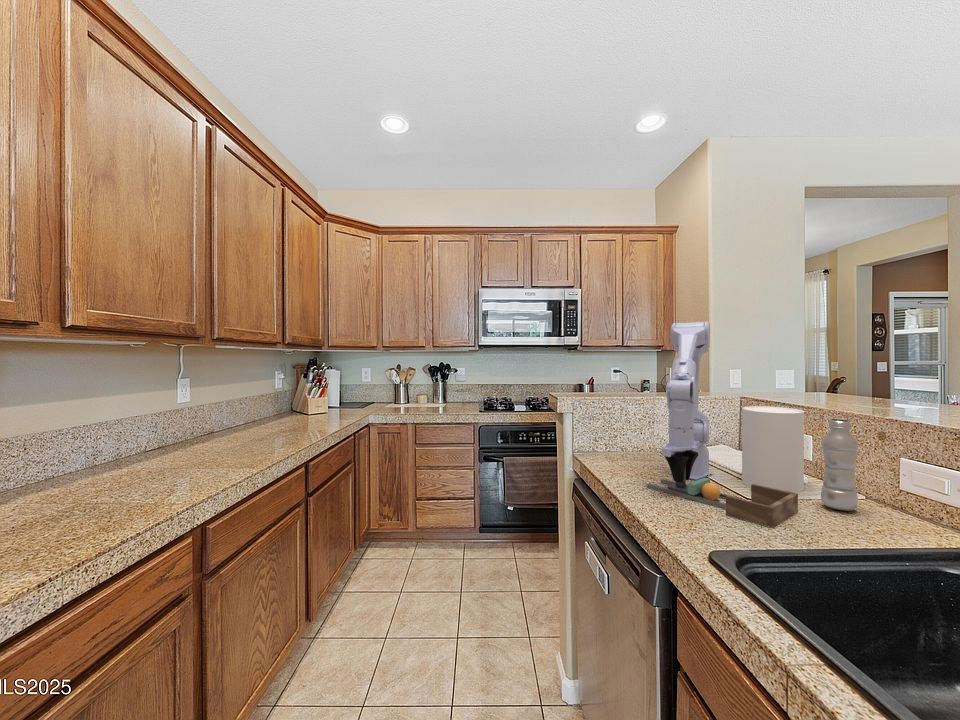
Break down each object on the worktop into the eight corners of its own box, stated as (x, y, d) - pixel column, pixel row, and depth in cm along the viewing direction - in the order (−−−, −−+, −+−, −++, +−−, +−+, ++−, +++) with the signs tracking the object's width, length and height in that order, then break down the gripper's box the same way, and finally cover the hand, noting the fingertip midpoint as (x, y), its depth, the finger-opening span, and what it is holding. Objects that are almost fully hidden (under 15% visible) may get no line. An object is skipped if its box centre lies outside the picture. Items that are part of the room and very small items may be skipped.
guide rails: (662, 482, 117) (662, 478, 117) (742, 502, 101) (742, 498, 101) (647, 487, 113) (646, 483, 113) (727, 509, 97) (727, 505, 97)
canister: (760, 474, 123) (760, 405, 123) (814, 487, 111) (815, 410, 111) (731, 481, 117) (731, 408, 117) (785, 496, 105) (785, 414, 105)
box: (752, 500, 102) (752, 483, 102) (797, 511, 95) (798, 493, 95) (725, 514, 94) (725, 496, 94) (772, 528, 87) (772, 508, 87)
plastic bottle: (849, 505, 99) (850, 418, 98) (864, 516, 92) (865, 423, 92) (815, 502, 101) (816, 417, 100) (828, 512, 94) (828, 421, 94)
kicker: (681, 485, 113) (681, 460, 113) (710, 492, 107) (710, 466, 107) (664, 491, 109) (664, 465, 109) (694, 499, 103) (694, 471, 102)
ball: (706, 495, 106) (706, 479, 106) (723, 500, 103) (723, 483, 103) (698, 499, 104) (698, 482, 104) (715, 503, 101) (715, 487, 101)
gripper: (681, 432, 101) (681, 490, 102) (711, 425, 110) (711, 478, 110) (653, 428, 107) (653, 483, 107) (684, 422, 116) (684, 472, 116)
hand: (681, 480), depth 109 cm, fingers closed on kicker, 2 cm apart
